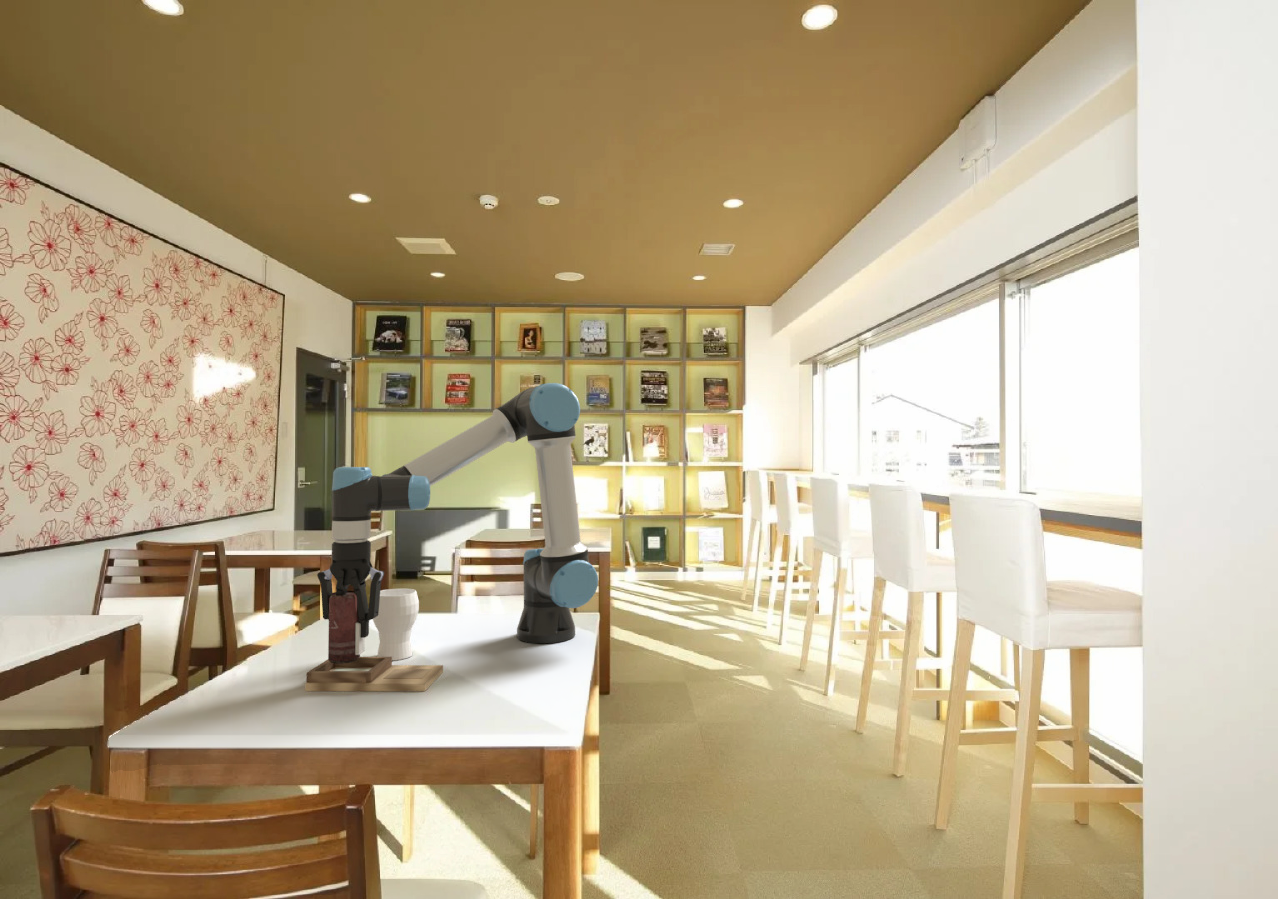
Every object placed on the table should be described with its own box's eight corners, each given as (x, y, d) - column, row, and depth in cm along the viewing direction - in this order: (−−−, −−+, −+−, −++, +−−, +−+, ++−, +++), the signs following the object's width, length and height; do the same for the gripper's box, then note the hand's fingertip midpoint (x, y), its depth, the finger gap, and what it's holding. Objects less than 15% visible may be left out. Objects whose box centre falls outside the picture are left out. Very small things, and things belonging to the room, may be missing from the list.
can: (348, 665, 136) (349, 596, 137) (321, 662, 138) (322, 594, 138) (367, 656, 142) (368, 590, 143) (341, 654, 144) (342, 589, 144)
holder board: (443, 672, 146) (443, 656, 146) (424, 691, 134) (424, 673, 134) (333, 672, 146) (333, 656, 146) (305, 691, 134) (305, 673, 134)
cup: (360, 659, 156) (360, 594, 156) (396, 647, 165) (396, 586, 165) (393, 665, 151) (393, 598, 151) (428, 653, 160) (428, 590, 160)
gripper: (396, 538, 144) (396, 648, 144) (321, 538, 144) (320, 647, 144) (383, 542, 137) (382, 658, 136) (303, 542, 137) (302, 658, 136)
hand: (350, 652), depth 140 cm, fingers open, 3 cm apart
